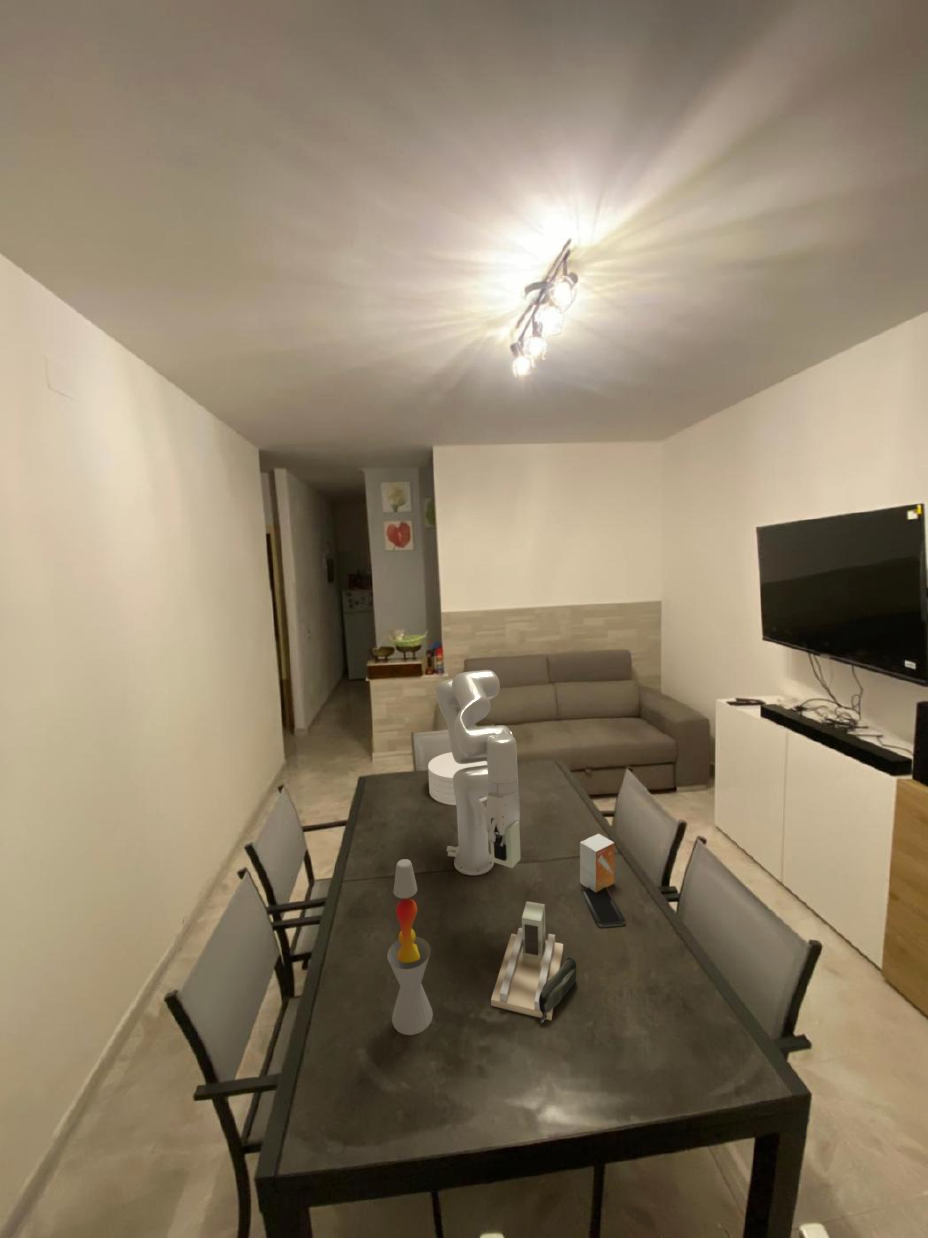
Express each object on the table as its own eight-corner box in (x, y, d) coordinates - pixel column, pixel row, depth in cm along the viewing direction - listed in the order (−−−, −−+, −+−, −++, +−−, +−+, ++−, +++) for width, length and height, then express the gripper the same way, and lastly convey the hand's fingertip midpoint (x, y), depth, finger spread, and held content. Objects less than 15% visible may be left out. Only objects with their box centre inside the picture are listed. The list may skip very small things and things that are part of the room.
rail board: (551, 1020, 105) (550, 970, 104) (491, 1005, 109) (489, 957, 108) (563, 949, 124) (562, 906, 123) (511, 939, 128) (510, 897, 127)
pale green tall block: (512, 868, 124) (510, 829, 123) (489, 860, 128) (488, 823, 127) (520, 859, 128) (519, 821, 127) (498, 852, 132) (497, 815, 131)
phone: (597, 925, 130) (580, 888, 145) (597, 929, 131) (580, 892, 145) (627, 923, 131) (607, 886, 146) (627, 927, 131) (607, 889, 146)
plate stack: (428, 778, 225) (426, 753, 224) (489, 773, 228) (489, 748, 227) (430, 808, 197) (429, 780, 196) (501, 802, 200) (500, 774, 199)
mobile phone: (567, 953, 116) (533, 997, 105) (579, 960, 114) (545, 1005, 103) (566, 973, 117) (532, 1018, 105) (578, 980, 115) (544, 1027, 103)
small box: (596, 894, 143) (595, 852, 142) (579, 883, 149) (579, 842, 147) (615, 884, 148) (615, 842, 146) (598, 873, 153) (598, 832, 152)
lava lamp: (438, 1028, 104) (430, 870, 100) (394, 1041, 102) (384, 880, 98) (428, 993, 113) (421, 846, 109) (388, 1004, 110) (379, 854, 106)
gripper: (506, 770, 135) (509, 835, 137) (471, 794, 121) (475, 866, 123) (531, 775, 131) (534, 842, 133) (498, 801, 117) (501, 875, 119)
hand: (505, 853), depth 128 cm, fingers closed on pale green tall block, 4 cm apart
